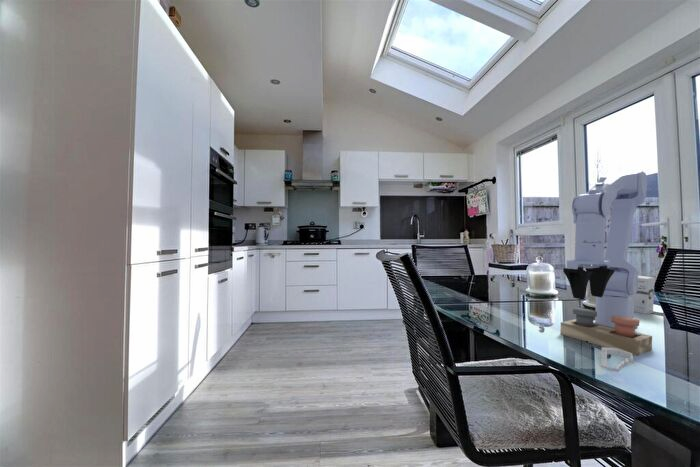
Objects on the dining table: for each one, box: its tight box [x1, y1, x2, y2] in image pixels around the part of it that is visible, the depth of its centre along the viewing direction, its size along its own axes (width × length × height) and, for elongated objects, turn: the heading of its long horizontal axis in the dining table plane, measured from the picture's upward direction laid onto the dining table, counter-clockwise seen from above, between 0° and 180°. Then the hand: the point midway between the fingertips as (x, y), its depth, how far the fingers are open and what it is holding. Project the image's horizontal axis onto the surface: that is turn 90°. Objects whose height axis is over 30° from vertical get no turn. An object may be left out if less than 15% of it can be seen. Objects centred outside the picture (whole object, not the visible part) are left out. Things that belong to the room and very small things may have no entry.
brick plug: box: [611, 316, 640, 337], centre depth 70 cm, size 5×5×4 cm
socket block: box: [559, 318, 653, 357], centre depth 74 cm, size 8×15×3 cm, turn 28°
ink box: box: [630, 275, 656, 315], centre depth 105 cm, size 9×5×12 cm, turn 27°
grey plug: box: [572, 307, 597, 327], centre depth 77 cm, size 5×5×4 cm
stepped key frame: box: [600, 346, 634, 372], centre depth 63 cm, size 13×5×2 cm, turn 140°
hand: (588, 297), depth 76 cm, fingers open, 7 cm apart
